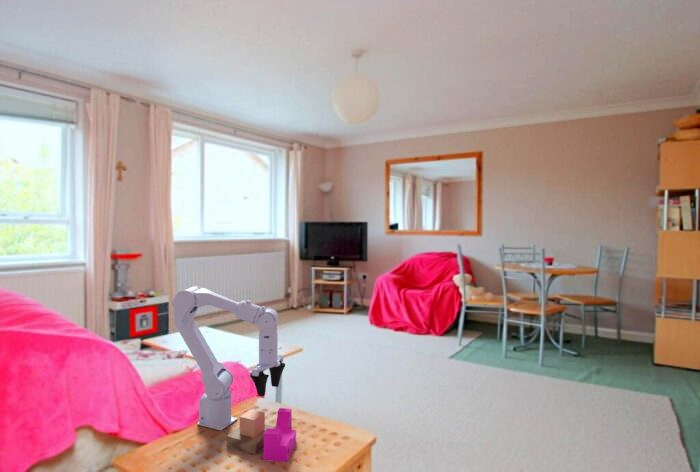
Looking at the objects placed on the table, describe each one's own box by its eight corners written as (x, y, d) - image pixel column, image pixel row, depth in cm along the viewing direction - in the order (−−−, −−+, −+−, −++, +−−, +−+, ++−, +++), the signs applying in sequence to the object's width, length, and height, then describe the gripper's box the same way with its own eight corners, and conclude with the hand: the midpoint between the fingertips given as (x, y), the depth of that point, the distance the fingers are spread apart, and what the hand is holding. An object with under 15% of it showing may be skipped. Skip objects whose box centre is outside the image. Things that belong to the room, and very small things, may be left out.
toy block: (286, 462, 110) (286, 435, 110) (263, 460, 111) (263, 433, 111) (299, 433, 125) (299, 409, 125) (279, 432, 126) (279, 408, 126)
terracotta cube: (239, 433, 119) (239, 416, 118) (250, 425, 123) (250, 409, 123) (254, 437, 117) (254, 420, 116) (264, 429, 121) (264, 412, 121)
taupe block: (226, 446, 117) (226, 436, 117) (248, 430, 127) (248, 420, 126) (256, 454, 113) (256, 443, 113) (276, 437, 123) (276, 427, 123)
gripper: (265, 356, 122) (265, 402, 122) (291, 343, 135) (291, 384, 136) (245, 353, 124) (246, 398, 125) (272, 340, 138) (273, 380, 138)
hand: (268, 390), depth 131 cm, fingers open, 7 cm apart
